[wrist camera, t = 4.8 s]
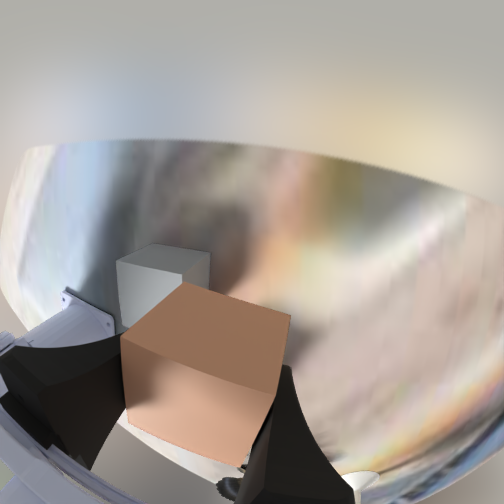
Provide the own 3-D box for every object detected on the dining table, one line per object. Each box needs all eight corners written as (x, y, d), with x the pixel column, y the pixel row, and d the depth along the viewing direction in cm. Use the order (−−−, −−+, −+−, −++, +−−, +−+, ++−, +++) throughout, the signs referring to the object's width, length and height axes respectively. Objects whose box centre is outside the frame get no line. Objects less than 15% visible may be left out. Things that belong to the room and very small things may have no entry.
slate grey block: (208, 311, 22) (183, 344, 17) (155, 298, 23) (122, 325, 18) (211, 252, 20) (182, 274, 16) (153, 242, 21) (115, 260, 17)
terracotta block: (262, 392, 13) (240, 467, 8) (174, 361, 14) (128, 422, 9) (291, 315, 12) (275, 395, 7) (184, 281, 12) (120, 336, 8)
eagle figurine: (266, 445, 24) (207, 468, 25) (289, 500, 18) (223, 517, 19) (298, 445, 28) (244, 468, 30) (318, 489, 23) (260, 509, 24)
